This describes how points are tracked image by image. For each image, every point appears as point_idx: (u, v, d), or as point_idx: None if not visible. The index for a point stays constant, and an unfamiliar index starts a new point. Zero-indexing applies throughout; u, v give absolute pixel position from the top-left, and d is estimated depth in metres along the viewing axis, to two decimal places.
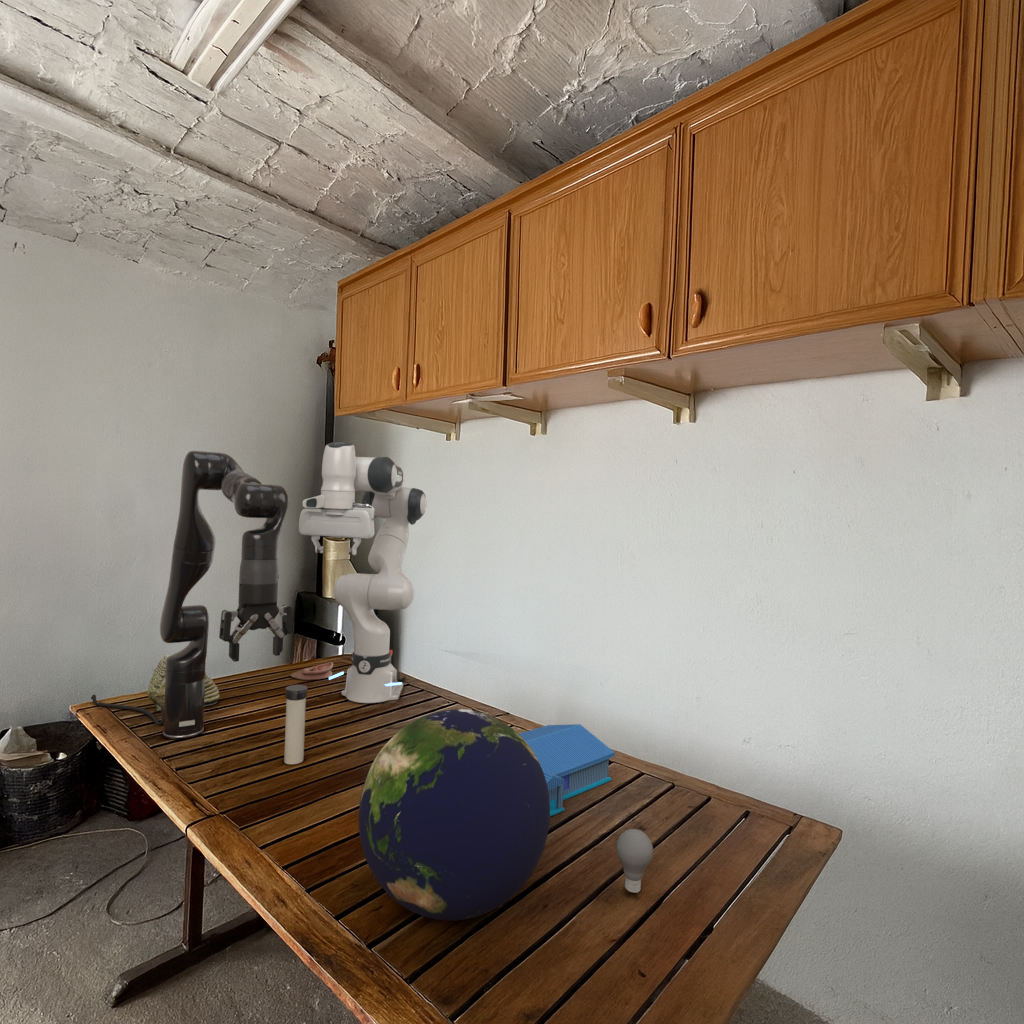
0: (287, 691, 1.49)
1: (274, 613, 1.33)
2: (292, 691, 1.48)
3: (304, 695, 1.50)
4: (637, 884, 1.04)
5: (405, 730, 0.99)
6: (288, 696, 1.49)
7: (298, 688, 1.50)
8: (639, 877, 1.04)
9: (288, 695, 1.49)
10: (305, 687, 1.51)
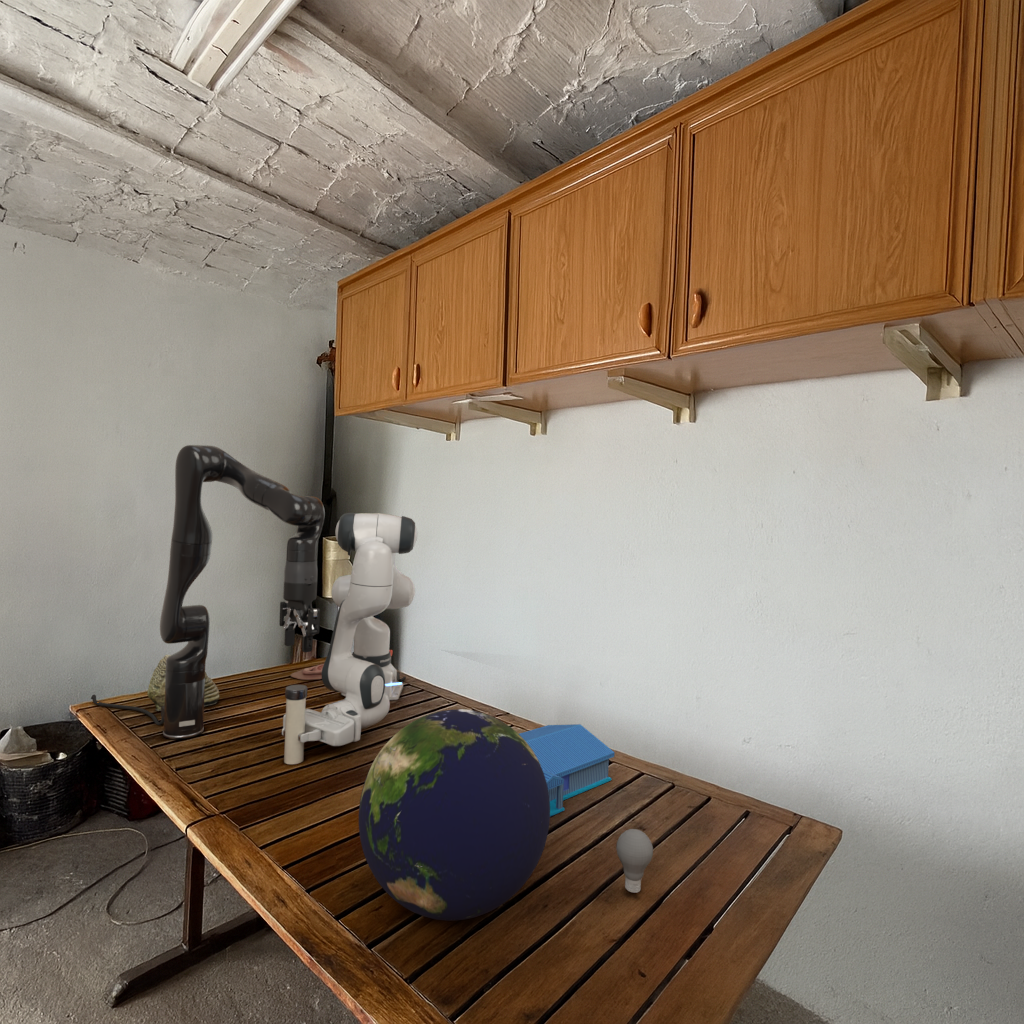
0: (287, 691, 1.49)
1: None
2: (292, 691, 1.48)
3: (304, 695, 1.50)
4: (637, 884, 1.04)
5: (405, 730, 0.99)
6: (288, 696, 1.49)
7: (298, 688, 1.50)
8: (639, 877, 1.04)
9: (288, 695, 1.49)
10: (305, 687, 1.51)
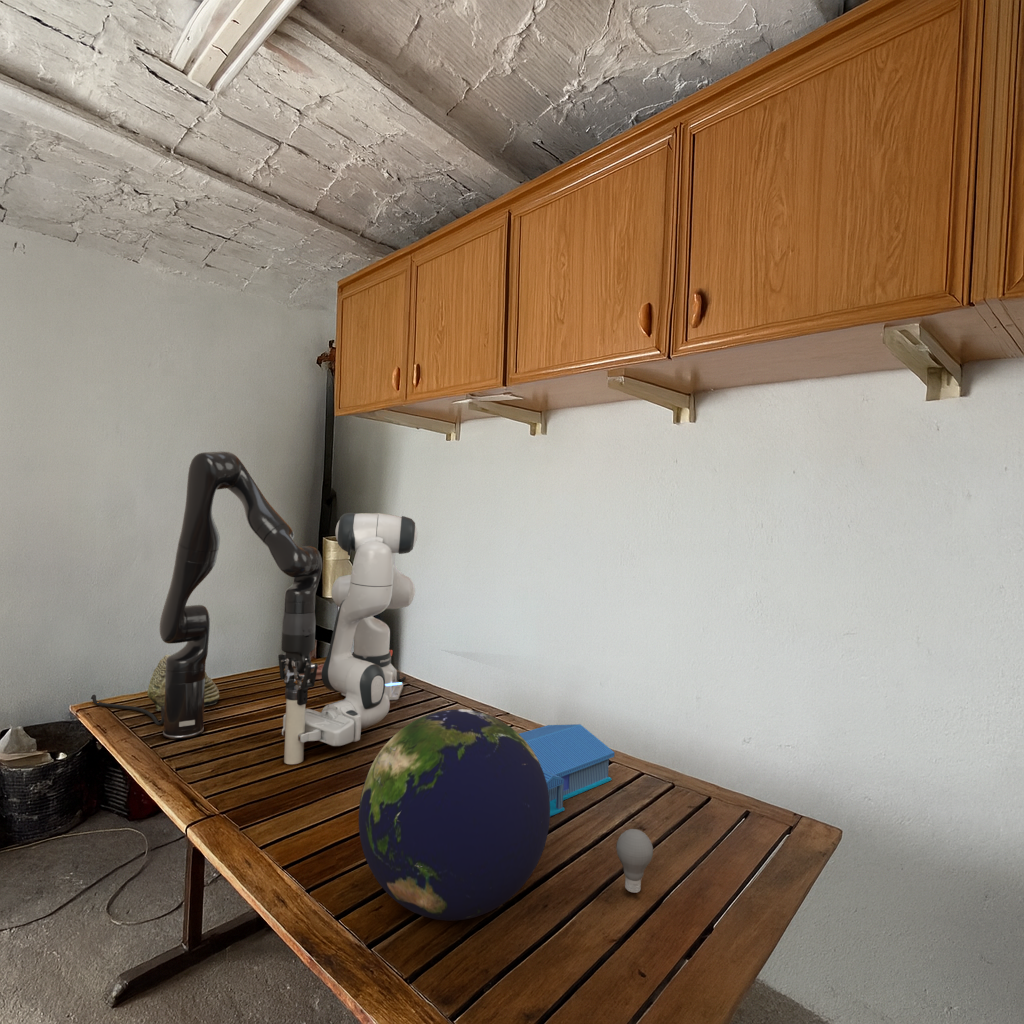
0: (287, 691, 1.49)
1: None
2: (292, 691, 1.48)
3: None
4: (637, 884, 1.04)
5: (405, 730, 0.99)
6: (288, 696, 1.49)
7: None
8: (639, 877, 1.04)
9: (288, 695, 1.49)
10: None
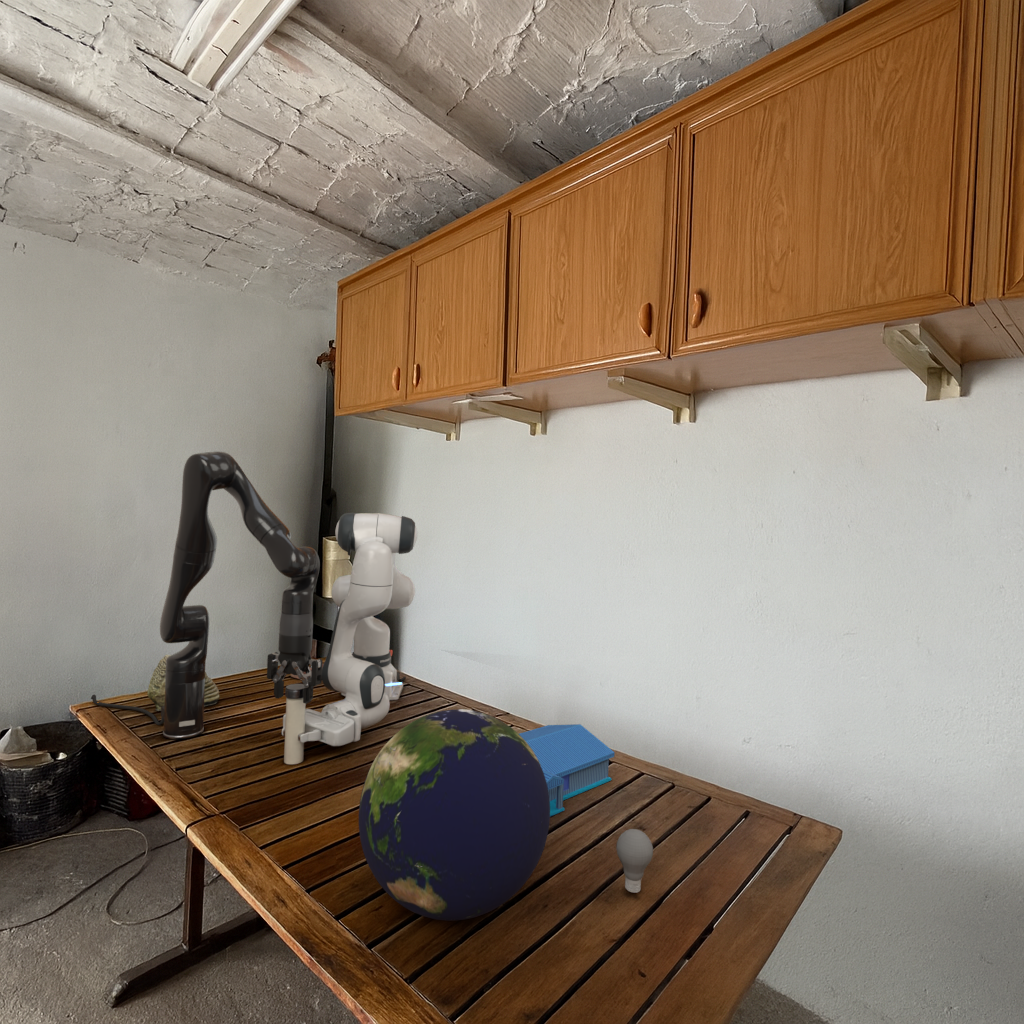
0: (298, 691, 1.49)
1: None
2: None
3: None
4: (637, 884, 1.04)
5: (405, 730, 0.99)
6: (300, 695, 1.49)
7: (300, 686, 1.51)
8: (639, 877, 1.04)
9: (300, 694, 1.49)
10: (300, 684, 1.53)
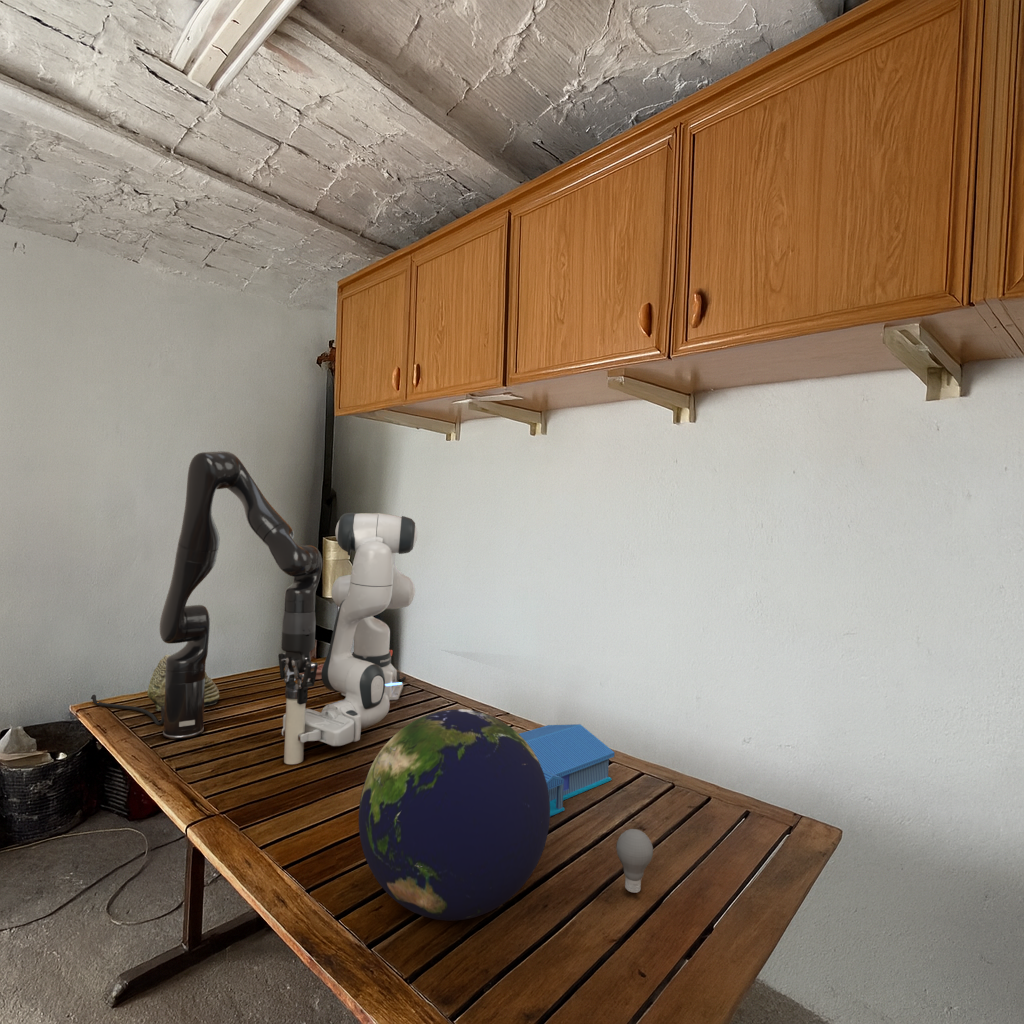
0: None
1: None
2: None
3: None
4: (637, 884, 1.04)
5: (405, 730, 0.99)
6: None
7: None
8: (639, 877, 1.04)
9: None
10: None
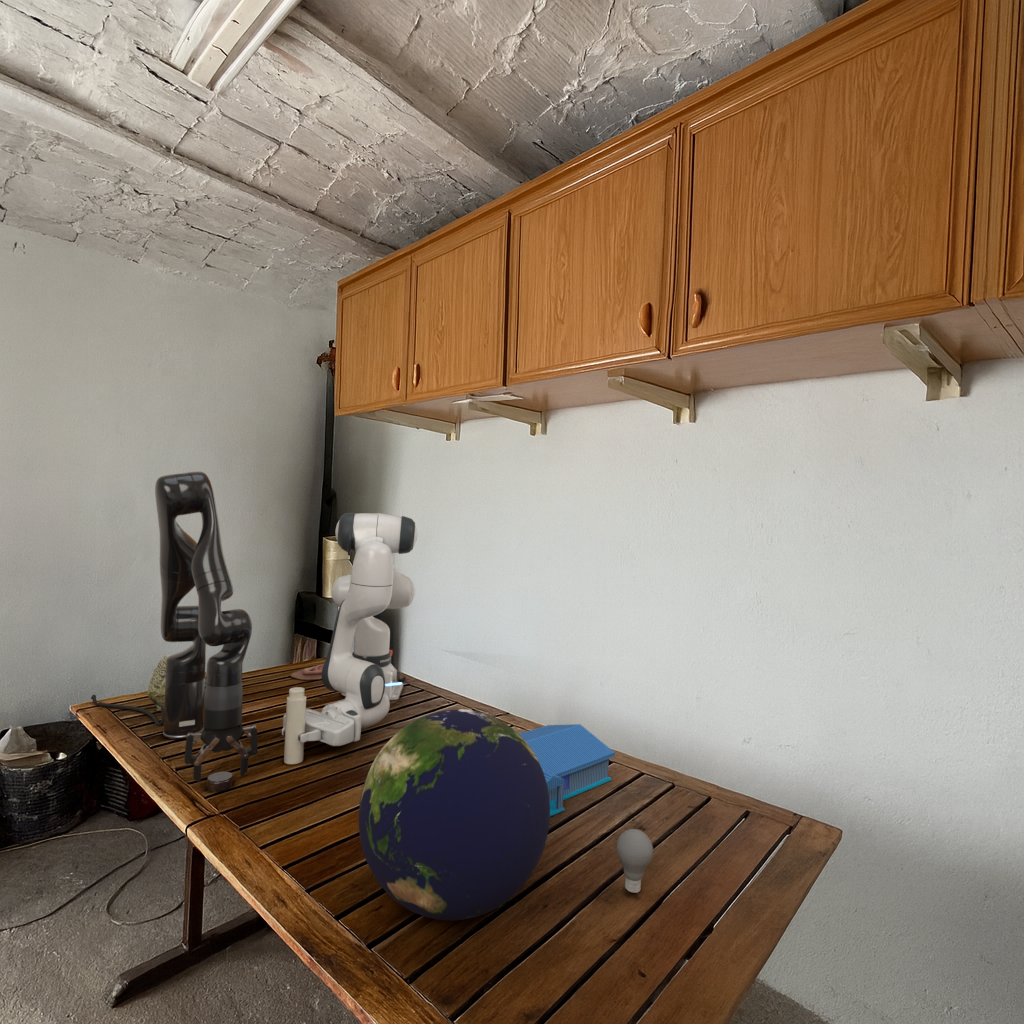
0: (231, 778, 1.37)
1: None
2: None
3: None
4: (637, 884, 1.04)
5: (405, 730, 0.99)
6: None
7: (221, 774, 1.37)
8: (639, 877, 1.04)
9: None
10: (214, 773, 1.37)
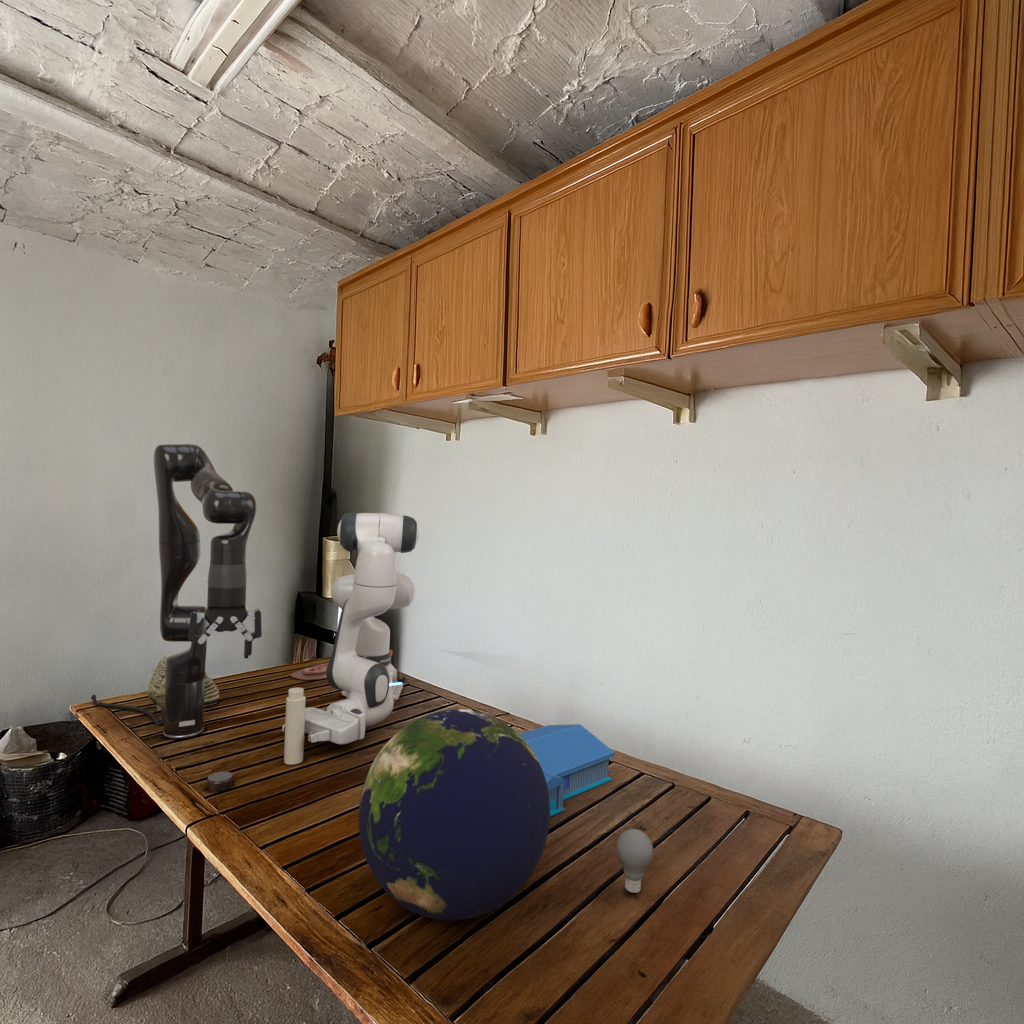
0: (231, 778, 1.37)
1: None
2: None
3: None
4: (637, 884, 1.04)
5: (405, 730, 0.99)
6: None
7: (221, 774, 1.37)
8: (639, 877, 1.04)
9: None
10: (214, 773, 1.37)
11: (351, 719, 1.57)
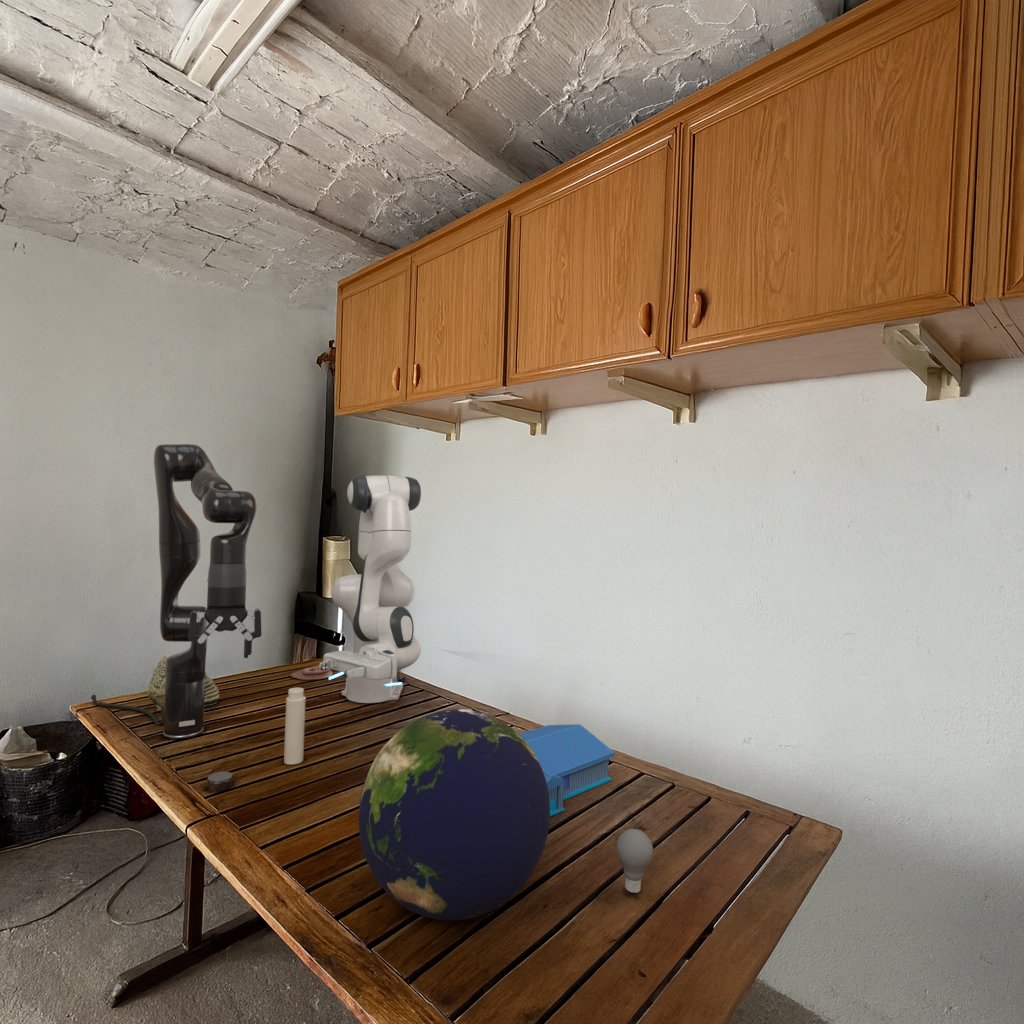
0: (231, 778, 1.37)
1: None
2: None
3: None
4: (637, 884, 1.04)
5: (405, 730, 0.99)
6: None
7: (221, 774, 1.37)
8: (639, 877, 1.04)
9: None
10: (214, 773, 1.37)
11: (384, 658, 1.65)
